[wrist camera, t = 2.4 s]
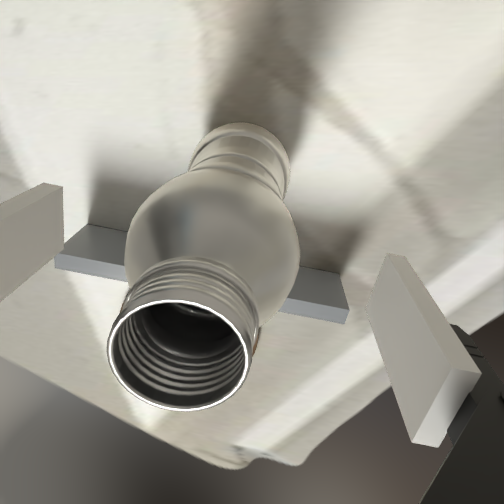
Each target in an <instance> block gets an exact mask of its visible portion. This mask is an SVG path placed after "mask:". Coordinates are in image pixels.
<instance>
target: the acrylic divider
mask: <svg viewBox="0 0 504 504" xmlns="http://www.w3.org/2000/svg"><path fill="white" fill-rule="evenodd" d="M127 234H128V232H125V231H120V230H115V229H110V228H105V227H100V226H95V225H90V224H87V225H86V226H84V227H83V228H82V229H81V230H80V231H79V232H77V233H76V234H75V235H74V236H73V237H72V238H70V239H69V240H68V241H67V242H66V243H65V244H64V249H63V250H62V251H61V252H60V253H58V254H57V255H56V256H55V257H54V261H55V268H57V269H62V270H68V271H73V272H78V273H83V274H88V275H93V276H98V277H104V278H109V279H114V280H119V281H124V282H128V281H127V279H126V274H125V266H124V256H125V246H126V239H127ZM278 311H279V312H284V313H289V314H294V315H299V316H304V317H310V318H315V319H320V320H325V321H330V322H335V323H340V324H345V321H346V318H347V315H348V313H349V307H348V303H347V300H346V296H345V293H344V289H343V286H342V282H341V279H340V275H339V274H337V273H332V272H327V271H322V270H317V269H312V268H307V267H302V266H299V270H298V273H297V276H296V280H295V283H294V285H293V287H292V289H291V291H290V293H289V295H288V296H287V298H286V300H285V302H284V303H283V305H282V307H281V308H280V309H279V310H278Z"/></svg>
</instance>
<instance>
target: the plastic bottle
mask: <svg viewBox="0 0 504 504" xmlns="http://www.w3.org/2000/svg"><path fill="white" fill-rule="evenodd" d="M289 181H290V164H289V159H288V156H287V153H286V151H285V149H284V147H283V146H282V144H281V142H280V141H279V140H278V139H277V138H276V137H275V136H274V135H273V134H272V133H270V132H269V131H268V130H266V129H265V128H262V127H260V126H258V125H256V124H251V123H246V122H234V123H229V124H225V125H222V126H220V127H218V128H215V129H214V130H212V131H211V132H210V133H208V134H207V135H206V136H205V137H204V138H203V139H202V140H201V141H200V142H199V144H198V145H197V147H196V149H195V150H194V152H193V155H192V158H191V160H190V164H189V168H188V172H186V173H184V174H182V175H180V176H177V177H175V178H173V179H171V180H170V181H168V182H167V183H166V184H164V185H163V186H161V187H160V188H158V189H157V190H156V191H155V192H153V193H152V194H151V195H150V196H149V197H148V198H147V199H146V200H145V201H144V202H143V203H142V205H141V206H140V207H139V209H138V211H137V212H136V214H135V216H134V217H133V219H132V221H131V224H130V228H129V231H128V234H127V239H126V246H125V256H124V266H125V274H126V279H127V281H128V284H129V287H130V291H129V293H128V294H127V296H126V298H125V301H124V304H123V308H122V311H121V312H120V314H119V315H118V317H117V319H116V320H115V322H114V323H113V325H112V328H111V331H110V334H109V337H108V341H107V356H108V362H109V365H110V367H111V370H112V372H113V374H114V375H115V377H116V378H117V380H118V381H119V383H120V384H121V385H122V386H123V387H124V388H125V389H126V390H127V391H128V392H130V393H131V394H132V395H134V396H135V397H137V398H138V399H140V400H142V401H144V402H146V403H148V404H150V405H152V406H155V407H158V408H161V409H166V410H171V411H182V412H190V411H200V410H204V409H208V408H212V407H214V406H216V405H219V404H221V403H223V402H225V401H226V400H228V399H229V398H230V397H232V396H233V395H234V394H235V393H236V392H237V391H238V390H239V389H240V388H241V386H242V385H243V383H244V381H245V380H246V378H247V375H248V372H249V369H250V366H251V363H252V354H253V346H254V344H255V342H256V339H257V335H258V330H259V327H260V326H262V325H263V324H264V323H266V322H267V321H268V320H270V319H271V318H272V317H273V316H274V315H275V314H276V313H277V311H278V310H279V309H280V308H281V307H282V305H283V303H284V302H285V300H286V298H287V296H288V295H289V293H290V291H291V289H292V287H293V285H294V283H295V280H296V276H297V273H298V270H299V263H300V246H299V238H298V235H297V232H296V228H295V225H294V223H293V220H292V217H291V214H290V213H289V211H288V209H287V208H286V206H285V204H284V202H283V199H284V197H285V195H286V192H287V188H288V185H289Z"/></svg>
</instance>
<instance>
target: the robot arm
mask: <svg viewBox="0 0 504 504" xmlns="http://www.w3.org/2000/svg"><path fill="white" fill-rule="evenodd" d="M63 249H64V221H63V187H62V186H57V185H52V184H47V183H42V184H40V185H38V186H36V187H34V188H32V189H30V190H28V191H26V192H24V193H21V194H19V195H17V196H15V197H13V198H11V199H9V200H7V201H5V202H3V203H1V204H0V302H1V301H2V300H4V299H5V298H6V297H7V296H8V295H9V294H11V293H12V292H13V291H14V290H15V289H17V288H18V287H19V286H20V285H21V284H23V283H24V282H25V281H26V280H27V279H29V278H30V277H31V276H32V275H33V274H35V273H36V272H37V271H38V270H39V269H40V268H42V267H43V266H44V265H45V264H46V263H48V262H49V261H50V260H51V259H52V258H54V257H55V256H56V255H57V254H58V253H60V252H61V251H62V250H63ZM365 310H366V313H367V316H368V318H369V321H370V324H371V327H372V330H373V333H374V336H375V339H376V341H377V344H378V347H379V350H380V353H381V356H382V359H383V362H384V365H385V367H386V370H387V373H388V376H389V379H390V382H391V385H392V387H393V390H394V393H395V396H396V399H397V402H398V405H399V407H400V411H401V413H402V416H403V419H404V422H405V425H406V428H407V431H408V434H409V436H410V439H411V442H412V443H417V444H423V445H428V446H433V447H439V445H440V444H441V442H442V440H443V439H444V437H445V435H446V433H447V432H448V435H449V437H450V439H451V441H452V443H453V447H452V448H451V450H450V451H449V453H448V455H447V456H446V458H445V460H444V461H443V463H442V465H441V466H440V468H439V469H438V471H437V473H436V475H435V477H434V478H433V480H432V482H431V483H430V485H429V487H428V488H427V490H426V492H425V493H424V495H423V497H422V499H421V500H420V502H419V503H418V504H504V384H503V383H502V381H501V380H500V379H499V377H498V376H497V374H496V373H495V371H494V370H493V369H492V367H491V366H490V364H489V363H488V361H487V360H486V359H484V356H483V354H482V353H481V351H480V350H479V349H477V348H478V347H477V346H476V344H475V343H474V341H473V340H472V339H471V337H470V336H469V335H468V334H467V333H465V332H464V331H463V330H462V329H461V328H460V327H458V326H457V325H452V324H449V323H448V321H447V320H446V318H445V316H444V315H443V313H442V312H441V310H440V309H439V307H438V306H437V304H436V303H435V301H434V300H433V298H432V297H431V295H430V294H429V292H428V291H427V289H426V287H425V286H424V284H423V283H422V281H421V280H420V278H419V277H418V275H417V274H416V272H415V271H414V269H413V268H412V266H411V265H410V263H409V261H408V260H407V258H406V257H404V256H399V255H395V254H390V253H387V254H386V256H385V259H384V262H383V264H382V267H381V269H380V272H379V275H378V277H377V280H376V283H375V285H374V288H373V290H372V293H371V296H370V298H369V301H368V303H367V306H366V309H365Z"/></svg>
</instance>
